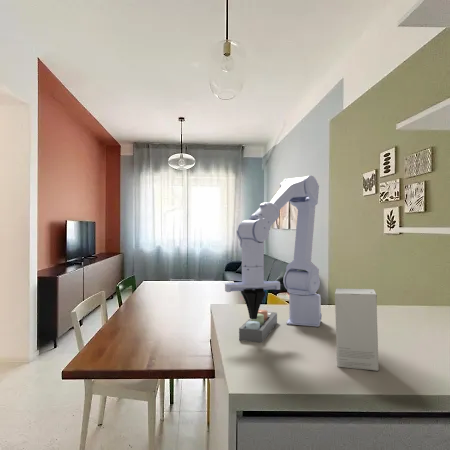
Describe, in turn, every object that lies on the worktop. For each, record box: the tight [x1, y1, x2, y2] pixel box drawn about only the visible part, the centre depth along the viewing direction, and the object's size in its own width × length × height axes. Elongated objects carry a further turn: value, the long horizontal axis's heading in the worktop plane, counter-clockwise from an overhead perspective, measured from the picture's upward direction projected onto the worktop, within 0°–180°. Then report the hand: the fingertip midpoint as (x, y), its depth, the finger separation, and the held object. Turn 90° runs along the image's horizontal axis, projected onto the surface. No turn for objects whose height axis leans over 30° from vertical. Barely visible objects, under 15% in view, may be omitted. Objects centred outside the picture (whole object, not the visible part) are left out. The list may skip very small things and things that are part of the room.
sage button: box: [251, 314, 264, 325], centre depth 97 cm, size 4×4×3 cm
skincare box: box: [334, 287, 380, 372], centre depth 75 cm, size 8×7×16 cm
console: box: [238, 311, 278, 343], centre depth 100 cm, size 6×20×3 cm, turn 161°
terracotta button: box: [258, 309, 269, 321], centre depth 102 cm, size 4×4×3 cm
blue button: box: [245, 321, 260, 330], centre depth 93 cm, size 4×4×3 cm
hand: (253, 318), depth 93 cm, fingers closed
